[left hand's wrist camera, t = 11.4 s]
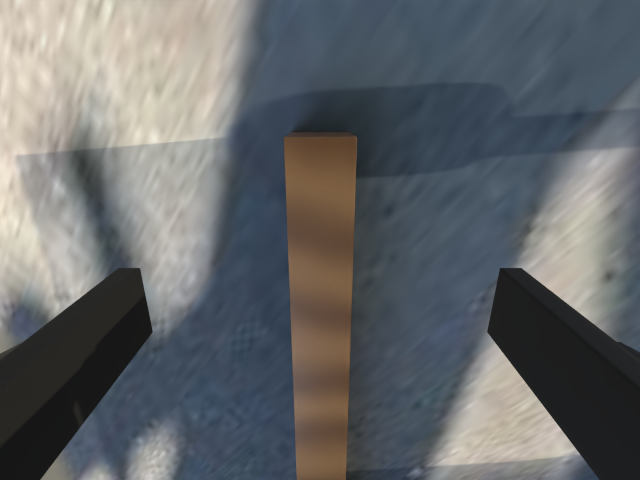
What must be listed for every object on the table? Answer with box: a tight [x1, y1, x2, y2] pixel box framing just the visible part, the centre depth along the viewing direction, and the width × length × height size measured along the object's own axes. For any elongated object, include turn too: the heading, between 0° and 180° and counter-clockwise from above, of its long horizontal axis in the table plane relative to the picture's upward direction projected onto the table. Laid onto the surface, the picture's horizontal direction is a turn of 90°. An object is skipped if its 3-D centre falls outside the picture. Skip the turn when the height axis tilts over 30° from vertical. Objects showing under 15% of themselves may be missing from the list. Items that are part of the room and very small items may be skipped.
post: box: [284, 132, 357, 480], centre depth 42 cm, size 75×5×7 cm, turn 0°
